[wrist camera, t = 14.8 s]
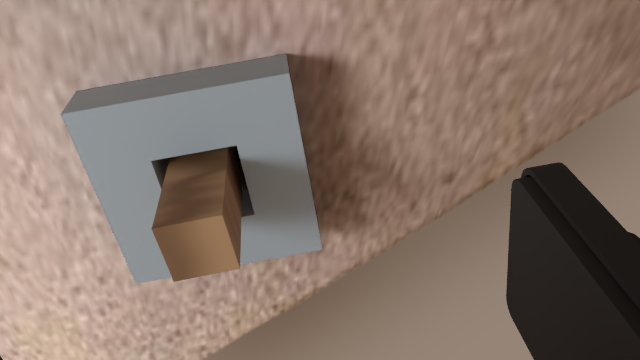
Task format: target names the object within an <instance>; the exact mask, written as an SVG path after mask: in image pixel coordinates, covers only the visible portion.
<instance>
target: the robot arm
mask: <svg viewBox="0 0 640 360" xmlns="http://www.w3.org/2000/svg"><path fill="white" fill-rule="evenodd" d="M508 252H509V253H508V272H507V273H508V274H507V293H506V294H507V295H506V296H507V305H508V309H509V312H510V315H511V317H512V319H513V321H514V323H515V325H516V327H517V329H518V330H519V332H520V334H521V336H522V338H523V340H524V342H525V344H526V345H527V347H528V349H529V351H530V353H531V355H532V357H533V359H534V360H640V238H639V237H637V236H636V235H635V234H633V233H629V232H627V231H626V230H625V229H624V228H623V227H622V226H621V224H620V223H619V222H618V221H617V220H616V219H615V218H614V217H613V216H612V215H611V214H610V213H609V212H608V211H607V209H606V208H605V207H604V206H603V205H602V204H601V203H600V202H599V201H598V200H597V199H596V198H595V197H594V196H593V195H592V194H591V192H589V190H588V189H587V188H586V187H585V186H584V185H583V184H582V183H581V182H580V181H579V180H578V179H577V177H576V176H575V175H574V174H573V173H572V172H571V171H570V170H569V169H568V168H567V167H566V166H565V165H564V164H562V163H553V164H548V165H542V166H536V167H531V168H526V169H525V170H523V173H522V176H521V178H520V179H515V180H514V181H513V183H512V189H511V210H510V231H509V251H508ZM0 360H3V359H2V358H1V357H0Z"/></svg>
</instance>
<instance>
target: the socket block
mask: <svg viewBox="0 0 640 360" xmlns="http://www.w3.org/2000/svg"><path fill="white" fill-rule="evenodd" d="M61 116H62V118H63V121H64V123H65V125H66V127H67V130H68V132H69V134H70V136H71V139H72V141H73V143H74V145H75V148H76V150H77V152H78V154H79V157H80V159H81V161H82V163H83V166H84V168H85V170H86V172H87V175H88V177H89V179H90V181H91V184H92V186H93V188H94V190H95V193H96V195H97V197H98V199H99V202H100V204H101V206H102V208H103V211H104V213H105V215H106V217H107V220H108V222H109V224H110V226H111V229H112V231H113V233H114V235H115V238H116V240H117V242H118V244H119V247H120V249H121V251H122V253H123V256H124V258H125V260H126V262H127V265H128V267H129V269H130V271H131V274H132V276H133V278H134V280H135V283H136V284H137V283H143V282H148V281H154V280H159V279H165V278H170V277H172V276H171V274H170V271H169V269H168V267H167V264H166V262H165V260H164V257H163V255H162V252H161V250H160V248H159V245H158V243H157V241H156V238H155V236H154V234H153V231H152V225H153V221H154V218H155V214H156V210H157V206H158V202H159V198H160V194H161V190H162V186H163V182H164V178H165V174H166V170H167V166H168V161H167V158H170V157H176V156H181V155H187V154H192V153H198V152H203V151H209V150H215V149H220V148H226V147H231V146H237V149H238V153H239V157H240V160H241V164H242V168H243V172H244V176H245V179H246V183H247V187H248V189H245V190H242V218H241V252H240V265H241V264H247V263H252V262H258V261H263V260H269V259H274V258H280V257H285V256H291V255H296V254H302V253H307V252H313V251H318V250H322V244H321V238H320V232H319V226H318V220H317V215H316V209H315V204H314V199H313V193H312V188H311V183H310V177H309V172H308V167H307V162H306V156H305V151H304V146H303V140H302V135H301V130H300V124H299V119H298V114H297V108H296V103H295V98H294V92H293V87H292V82H291V76H290V71H289V66H288V60H287V55H286V54H282V55H277V56H271V57H265V58H260V59H254V60H249V61H243V62H238V63H232V64H226V65H221V66H215V67H210V68H204V69H198V70H193V71H187V72H182V73H176V74H171V75H165V76H159V77H154V78H148V79H143V80H137V81H132V82H126V83H120V84H115V85H109V86H104V87H98V88H92V89H87V90H81V91H76V92H75V94H74V95H73V97H72V98H71V100H70V101H69V103H68V104H67V106H66V107H65V109H64V110H63V112H62V113H61Z"/></svg>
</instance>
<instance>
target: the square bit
mask: <svg viewBox="0 0 640 360" xmlns="http://www.w3.org/2000/svg"><path fill="white" fill-rule="evenodd" d="M242 183H243V179H242V175H241V172H240V169H239V165H238V162H237V158H236V155H235V152H234V148H233V146H231V147H226V148H220V149H215V150H209V151H203V152H198V153H192V154H187V155H181V156H176V157H170V159H169V163H168V166H167V170H166V174H165V178H164V182H163V186H162V190H161V194H160V198H159V202H158V206H157V210H156V214H155V218H154V221H153V225H152V231H153V234H154V236H155V238H156V241H157V243H158V245H159V248H160V250H161V252H162V255H163V257H164V260H165V262H166V264H167V267H168V269H169V271H170V274H171V276H172V278H173V281H179V280H184V279H189V278H195V277H200V276H205V275H210V274H215V273H220V272H225V271H230V270H235V269H240V252H241V218H242Z"/></svg>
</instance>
